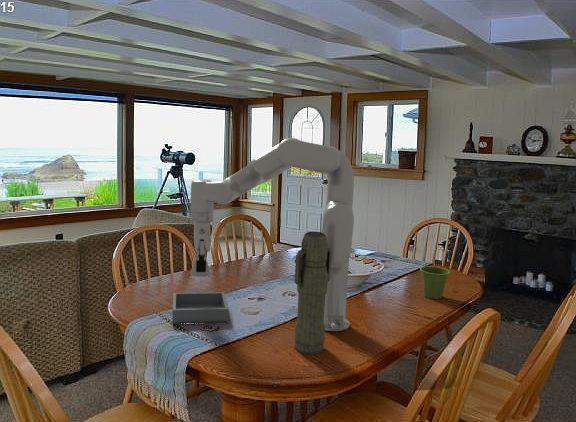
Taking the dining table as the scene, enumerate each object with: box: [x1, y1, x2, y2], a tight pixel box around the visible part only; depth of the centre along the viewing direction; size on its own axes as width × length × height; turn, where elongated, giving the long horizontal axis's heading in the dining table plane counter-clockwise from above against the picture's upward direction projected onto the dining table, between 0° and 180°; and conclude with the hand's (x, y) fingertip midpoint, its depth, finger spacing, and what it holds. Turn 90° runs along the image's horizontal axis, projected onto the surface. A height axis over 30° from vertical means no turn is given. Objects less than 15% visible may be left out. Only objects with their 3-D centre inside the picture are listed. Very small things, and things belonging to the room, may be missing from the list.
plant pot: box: [419, 265, 451, 300], centre depth 211 cm, size 12×12×11 cm
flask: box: [189, 249, 212, 278], centre depth 176 cm, size 7×7×10 cm
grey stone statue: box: [293, 231, 331, 355], centre depth 153 cm, size 9×12×35 cm
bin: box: [171, 291, 230, 325], centre depth 179 cm, size 18×18×5 cm
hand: (200, 269), depth 177 cm, fingers closed on flask, 4 cm apart
